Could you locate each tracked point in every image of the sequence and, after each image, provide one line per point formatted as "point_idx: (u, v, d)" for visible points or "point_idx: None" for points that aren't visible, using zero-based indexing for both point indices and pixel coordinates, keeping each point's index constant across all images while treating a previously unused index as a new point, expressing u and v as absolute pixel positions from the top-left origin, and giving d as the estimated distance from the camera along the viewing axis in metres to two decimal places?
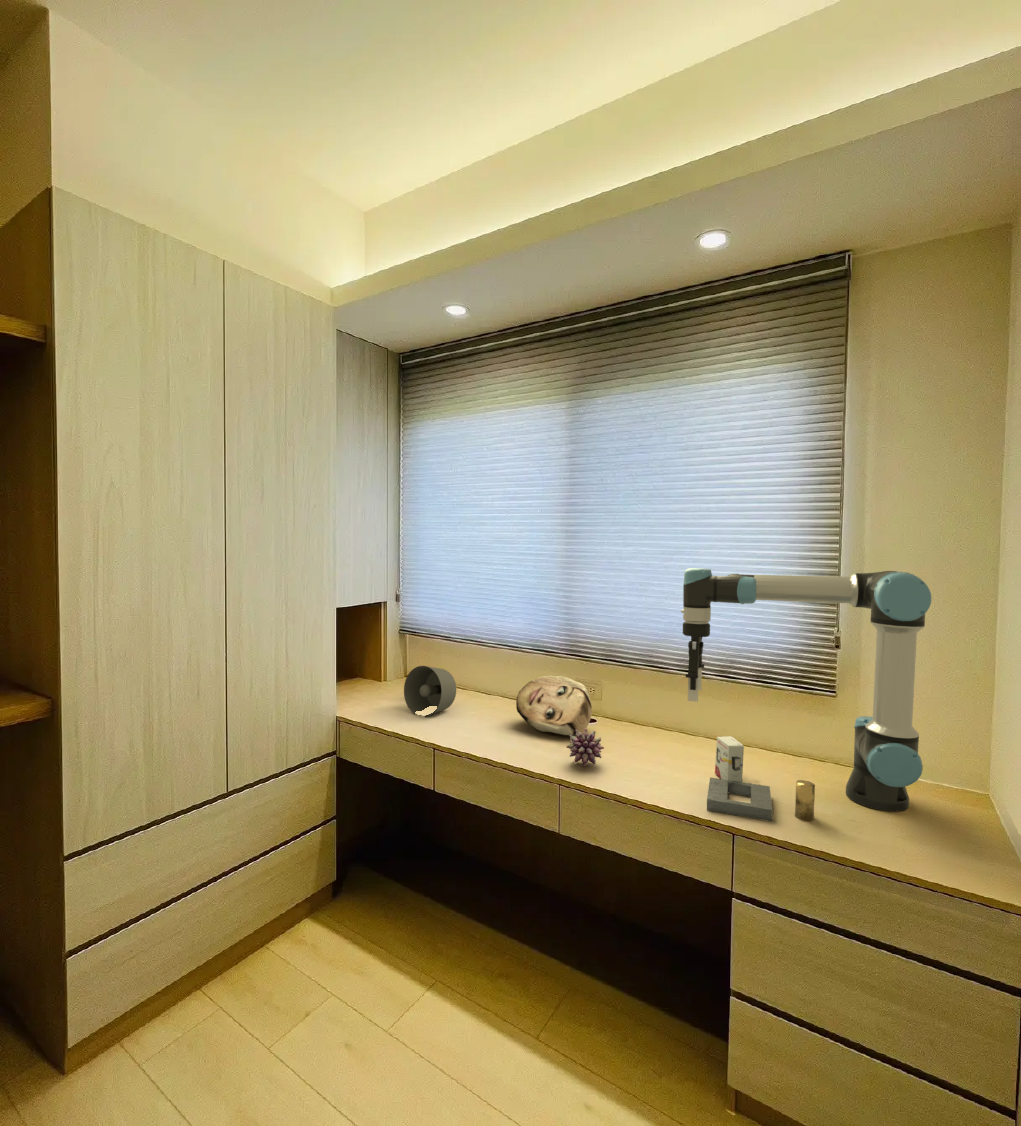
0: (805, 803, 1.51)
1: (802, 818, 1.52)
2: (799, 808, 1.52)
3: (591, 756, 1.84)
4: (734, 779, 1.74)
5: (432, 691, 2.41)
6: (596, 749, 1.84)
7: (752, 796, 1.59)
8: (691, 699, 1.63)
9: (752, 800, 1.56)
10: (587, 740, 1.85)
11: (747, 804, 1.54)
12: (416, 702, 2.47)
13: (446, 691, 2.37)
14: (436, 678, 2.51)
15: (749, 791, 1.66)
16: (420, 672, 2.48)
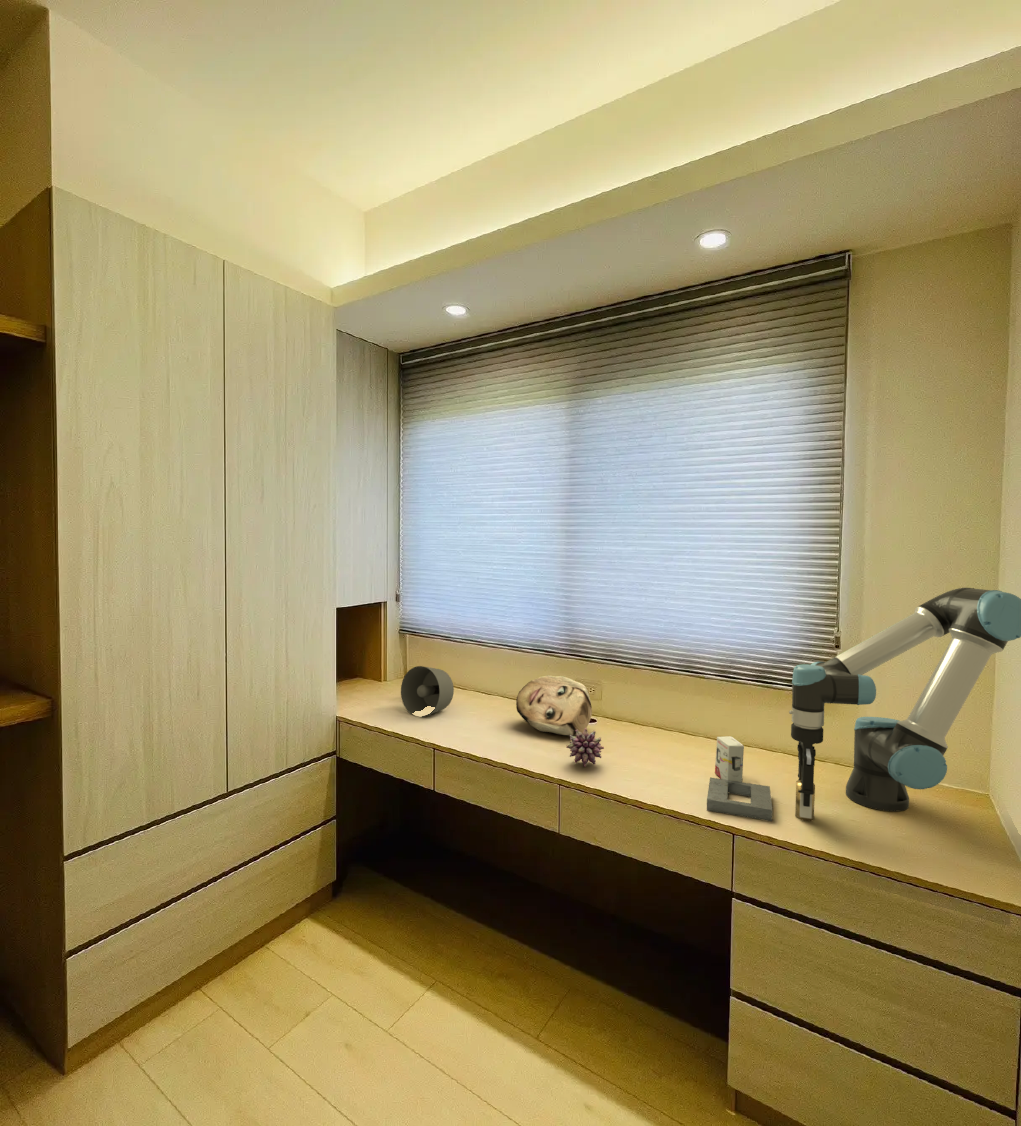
0: None
1: (802, 818, 1.52)
2: None
3: (591, 756, 1.84)
4: (734, 779, 1.74)
5: (429, 691, 2.40)
6: (596, 749, 1.84)
7: (752, 796, 1.59)
8: (804, 815, 1.51)
9: (752, 800, 1.56)
10: (587, 740, 1.85)
11: (747, 804, 1.54)
12: (413, 702, 2.46)
13: (444, 691, 2.37)
14: (433, 678, 2.51)
15: (749, 791, 1.66)
16: (417, 672, 2.47)
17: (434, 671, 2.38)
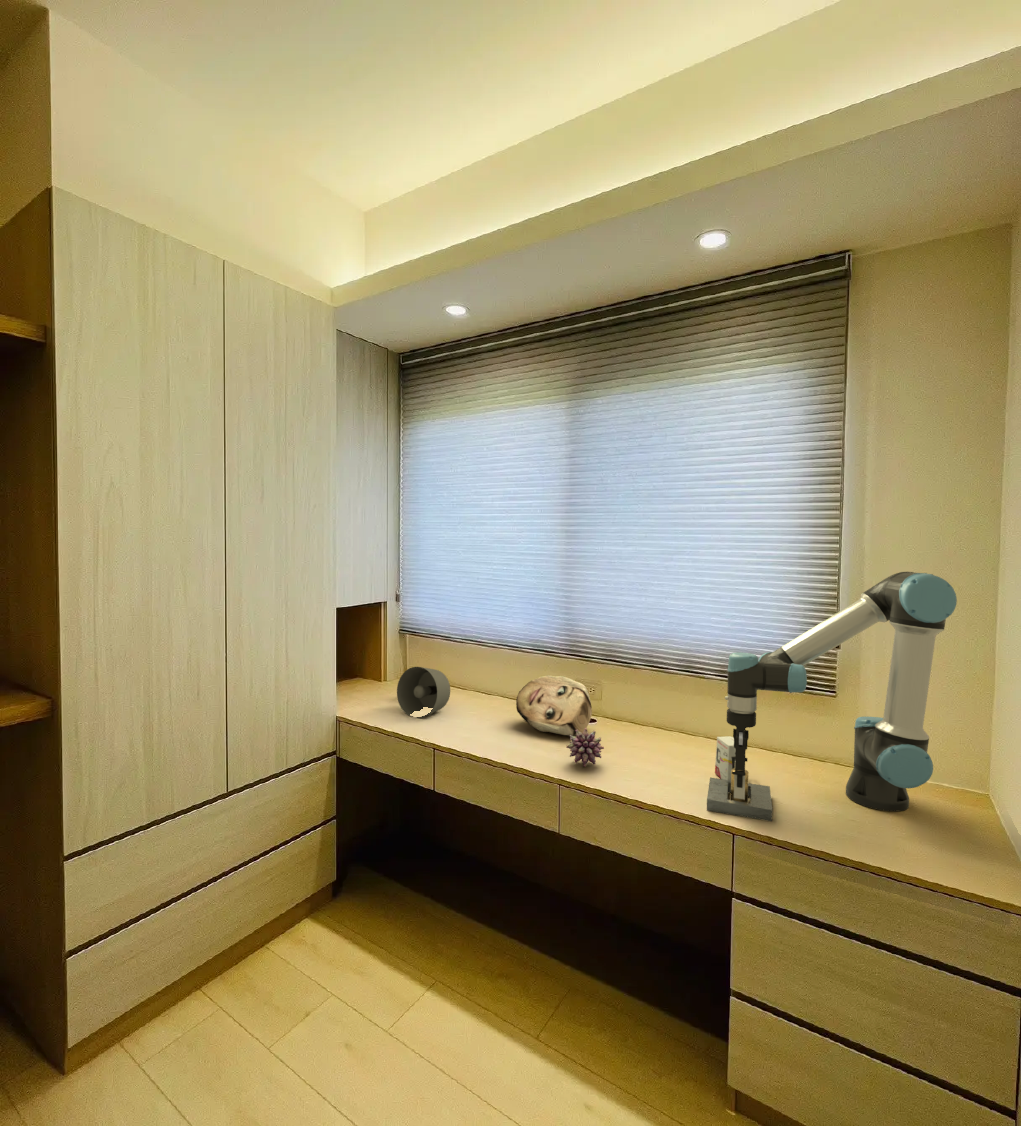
0: None
1: None
2: None
3: (591, 756, 1.84)
4: None
5: (426, 692, 2.39)
6: (596, 749, 1.84)
7: (752, 796, 1.59)
8: (737, 796, 1.57)
9: (752, 800, 1.56)
10: (587, 740, 1.85)
11: (747, 804, 1.54)
12: (409, 703, 2.45)
13: (441, 692, 2.36)
14: (429, 679, 2.50)
15: (749, 791, 1.66)
16: (413, 673, 2.46)
17: (431, 671, 2.38)
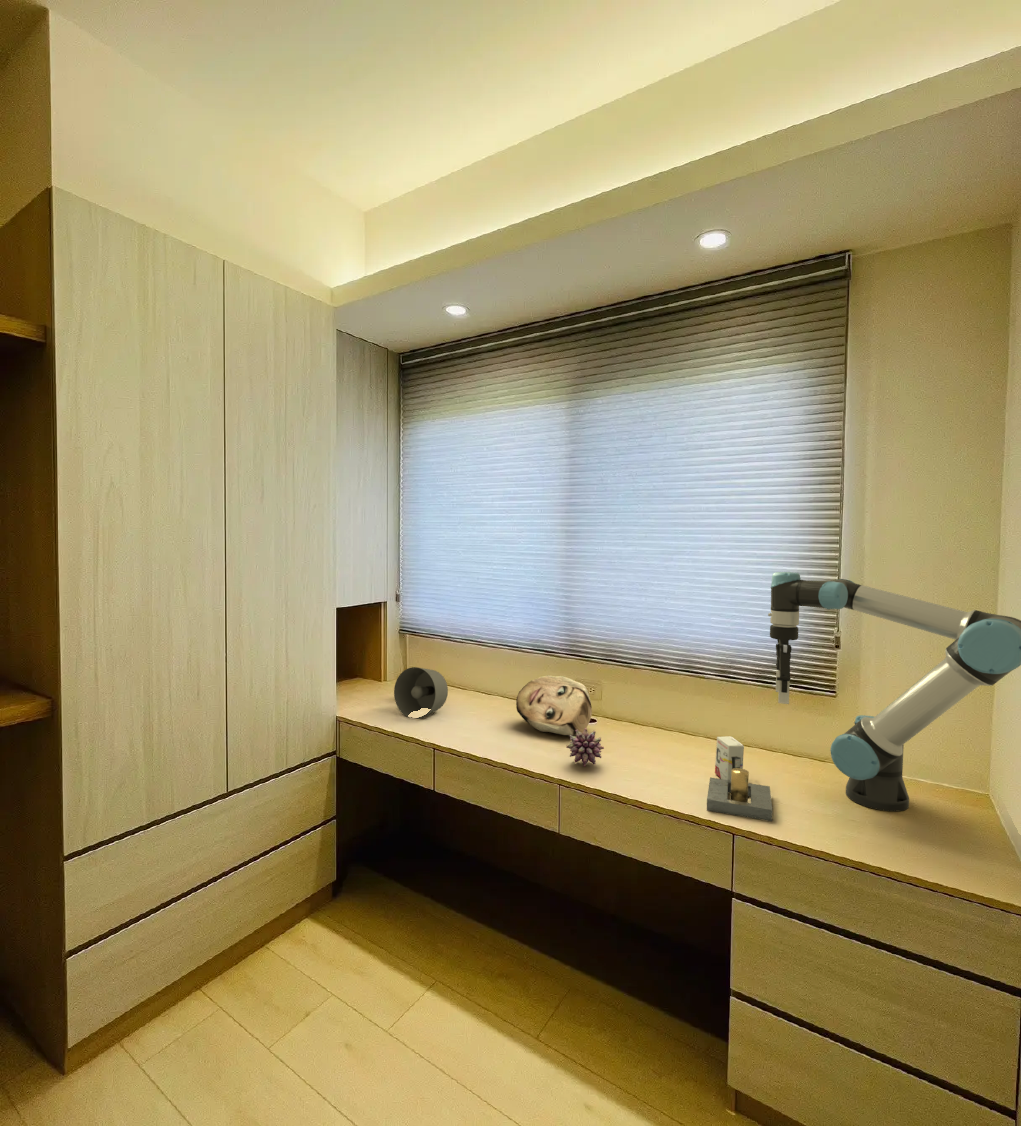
0: (739, 790, 1.59)
1: None
2: (734, 794, 1.60)
3: (591, 756, 1.84)
4: None
5: (424, 692, 2.39)
6: (596, 749, 1.84)
7: (752, 796, 1.59)
8: (782, 702, 1.65)
9: (752, 800, 1.56)
10: (587, 740, 1.85)
11: (747, 804, 1.54)
12: (406, 704, 2.44)
13: (439, 692, 2.35)
14: (426, 679, 2.49)
15: (749, 791, 1.66)
16: (410, 674, 2.45)
17: (429, 672, 2.37)
